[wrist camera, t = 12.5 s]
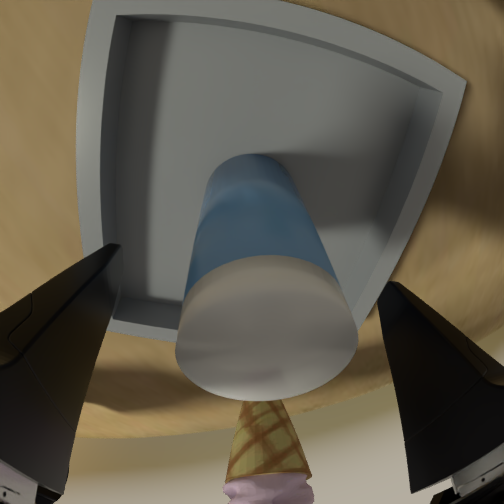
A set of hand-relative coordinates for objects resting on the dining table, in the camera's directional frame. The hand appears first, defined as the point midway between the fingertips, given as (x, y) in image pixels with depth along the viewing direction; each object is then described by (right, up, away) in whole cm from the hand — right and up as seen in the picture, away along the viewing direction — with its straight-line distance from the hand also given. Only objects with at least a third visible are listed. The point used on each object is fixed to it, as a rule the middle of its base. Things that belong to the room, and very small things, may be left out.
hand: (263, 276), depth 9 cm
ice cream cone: (0, -10, +16) cm, 18 cm away
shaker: (0, +3, +5) cm, 6 cm away
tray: (0, +4, +6) cm, 7 cm away
